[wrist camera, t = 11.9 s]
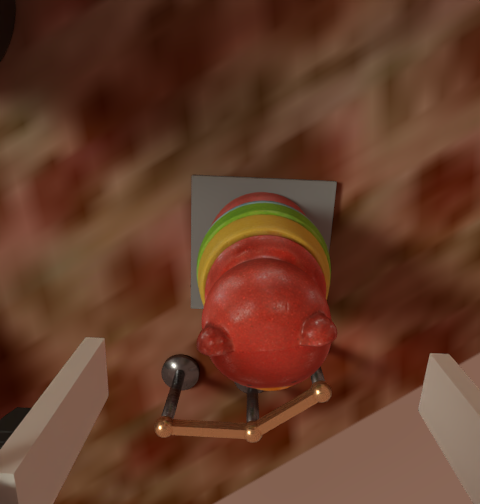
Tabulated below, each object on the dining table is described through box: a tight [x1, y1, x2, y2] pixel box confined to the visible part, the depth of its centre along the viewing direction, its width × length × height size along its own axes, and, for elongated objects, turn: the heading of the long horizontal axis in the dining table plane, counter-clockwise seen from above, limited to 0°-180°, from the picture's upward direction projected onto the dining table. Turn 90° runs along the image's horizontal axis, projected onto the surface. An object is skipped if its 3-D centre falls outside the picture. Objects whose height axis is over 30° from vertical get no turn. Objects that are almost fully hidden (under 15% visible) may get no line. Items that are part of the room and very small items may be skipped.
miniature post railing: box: [154, 354, 332, 443], centre depth 35 cm, size 8×16×9 cm, turn 88°
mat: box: [191, 175, 337, 309], centre depth 35 cm, size 12×12×1 cm
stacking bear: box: [197, 192, 337, 391], centre depth 27 cm, size 11×10×18 cm
